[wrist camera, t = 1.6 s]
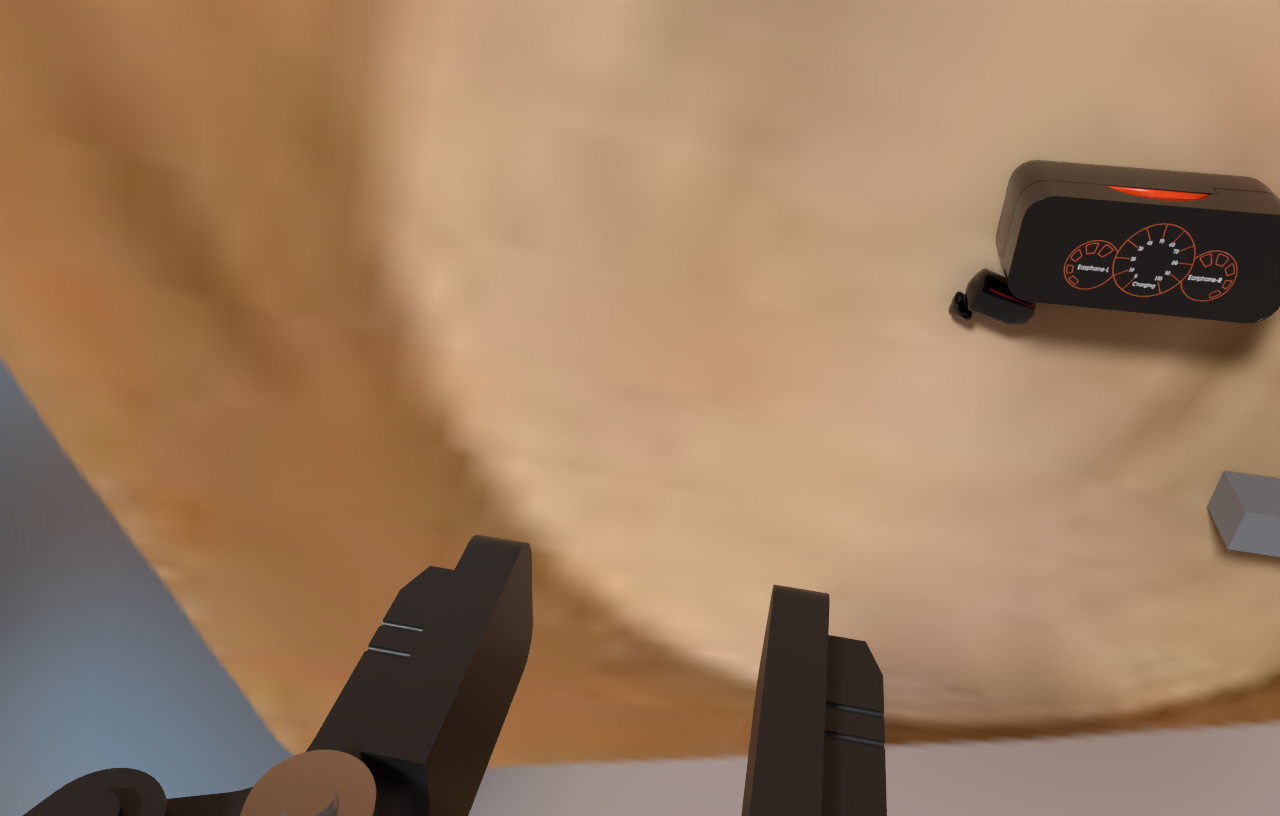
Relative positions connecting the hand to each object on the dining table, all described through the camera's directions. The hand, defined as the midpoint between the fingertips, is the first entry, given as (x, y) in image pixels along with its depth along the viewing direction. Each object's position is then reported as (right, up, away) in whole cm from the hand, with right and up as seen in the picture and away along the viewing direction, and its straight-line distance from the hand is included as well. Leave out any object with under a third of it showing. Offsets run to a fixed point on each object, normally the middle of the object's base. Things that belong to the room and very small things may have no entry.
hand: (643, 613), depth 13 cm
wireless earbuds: (+12, +8, +14) cm, 20 cm away
